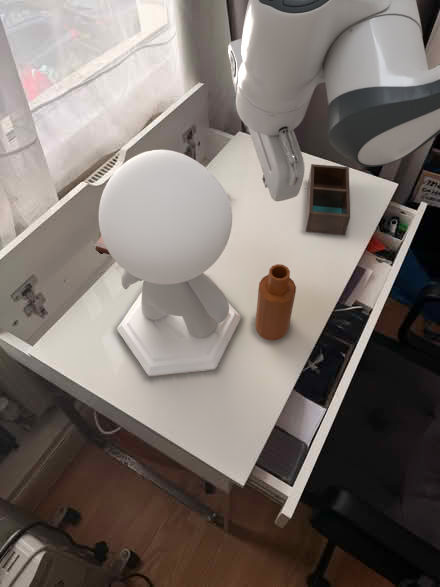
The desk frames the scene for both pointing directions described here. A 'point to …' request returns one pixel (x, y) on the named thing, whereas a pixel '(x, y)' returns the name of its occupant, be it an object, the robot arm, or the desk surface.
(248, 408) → the desk surface
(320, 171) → the box
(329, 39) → the robot arm
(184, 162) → the white cartoon figure
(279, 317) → the bottle
